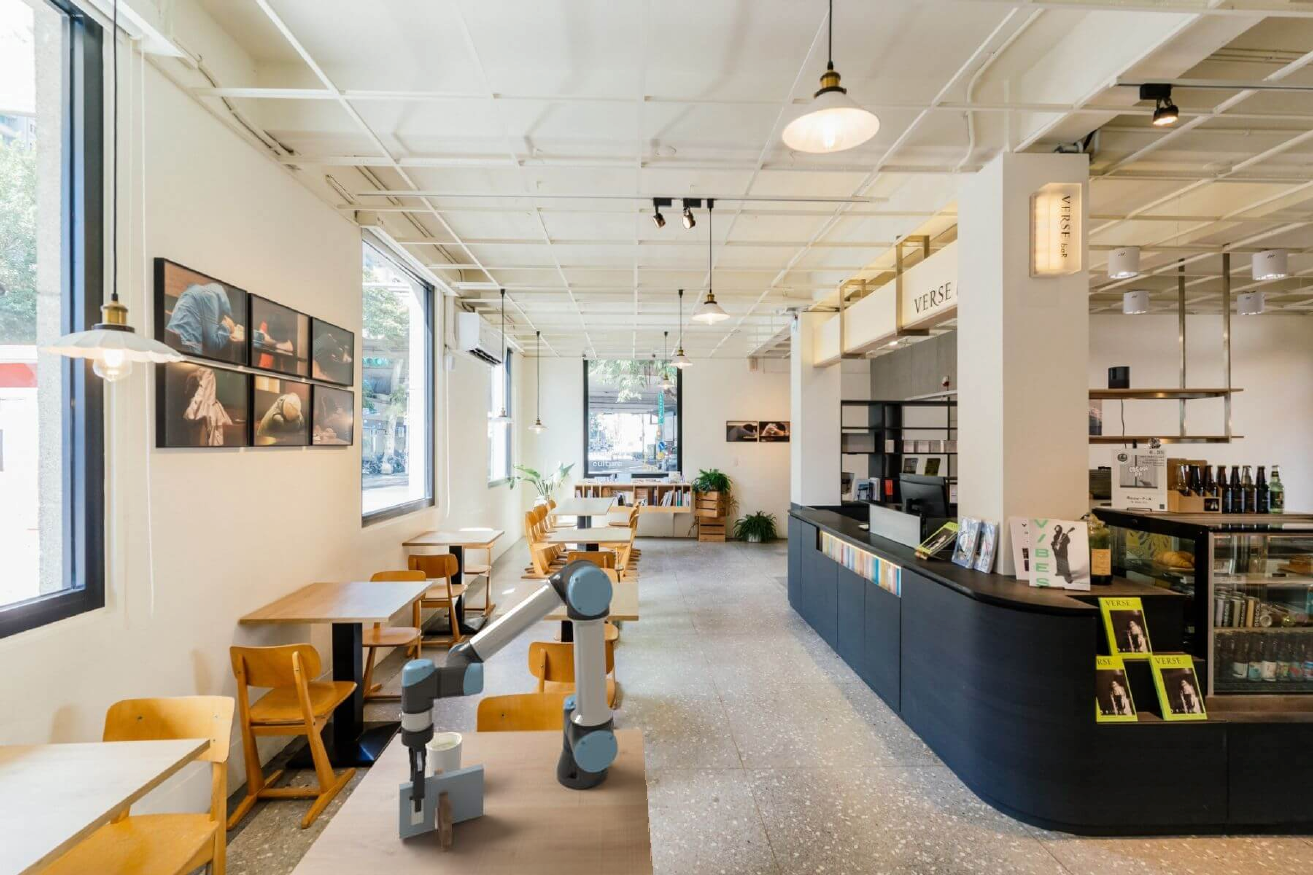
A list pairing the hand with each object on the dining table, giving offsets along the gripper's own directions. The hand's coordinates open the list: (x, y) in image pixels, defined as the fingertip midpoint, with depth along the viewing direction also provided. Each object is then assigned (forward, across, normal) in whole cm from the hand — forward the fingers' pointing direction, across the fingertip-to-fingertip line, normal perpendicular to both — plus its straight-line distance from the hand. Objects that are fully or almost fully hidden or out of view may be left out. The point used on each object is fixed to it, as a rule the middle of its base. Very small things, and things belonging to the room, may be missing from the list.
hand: (416, 818), depth 142 cm
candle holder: (+4, -20, +9) cm, 22 cm away
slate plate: (+3, 0, +6) cm, 7 cm away
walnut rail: (+4, 0, +6) cm, 7 cm away
